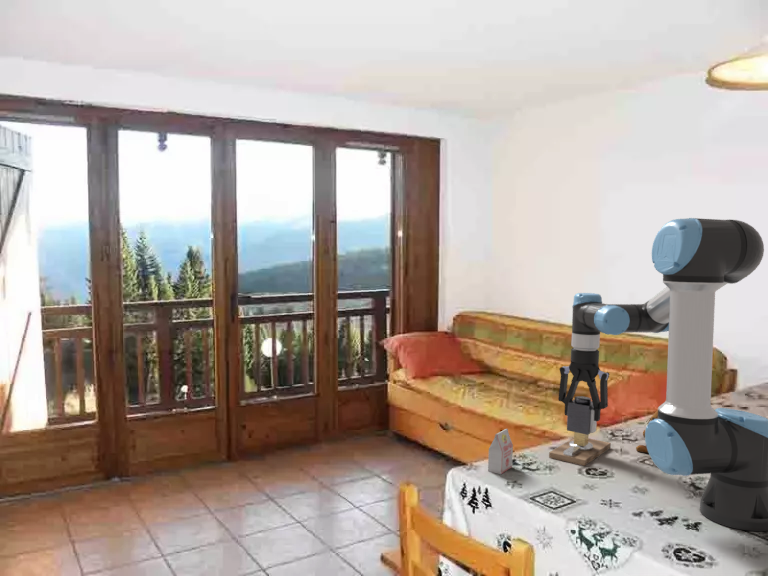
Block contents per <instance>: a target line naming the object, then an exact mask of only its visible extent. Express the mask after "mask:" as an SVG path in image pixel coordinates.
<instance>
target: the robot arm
mask: <svg viewBox="0 0 768 576" xmlns="http://www.w3.org/2000/svg"><path fill="white" fill-rule="evenodd" d="M764 245H765V244H764V241H763V238H762V236H761V235H760V233H759V231H758V230H756V228H755V227H754V226H752V225H750V224H749V223H747V222H745V221H742V220H738V219H718V218H717V219H714V218H713V219H712V218H698V217H697V218H696V217H689V218H676V219H672V220H670V221H668V222H666V223H664V224H663V226H662V227H661V228H660V230H659V231H658V232H657V233H656V235H655V238H654V240H653V242H652V247H651V262H652V263H653V264H654V265H653V267H654V269H655V270H656V271H657V272H658V273H659V274H662V283H663V284H664V285H665V286H666V287H665V288H663V289H662V290H661V291H660V292H658V293H656V294H655V295H654V296H653V297H652V298H650V299H649V300H647V301H646V302H644V303H638V304H635V303H629V304H628V303H627V304H622V303H620V304H619V303H617V304H616V303H614V304H613V303H612V304H611V303H610V304H608V303H603V301H602V296H601V294H599V293H592V292H578V293H575V294H574V296H573V305H572V322H571V323H572V324H571V325H572V326H571V329H572V330H571V347H572V348H571V349H570V363H569V365H568V366H566V365H564V366H561V367H560V368H559V373H560V382H559V390H558V391H559V392H558V398H557V399H558V402H561V403H563V404H564V415H565V416H566V418H567V417H568V402H570V401H573V400H574V398H575V395H576V391H577V390H578V389H577V388H578V385H579V384H580V382H584V383H586V385H587V387H588V392H589V394H590V398H591V401H592V403H593V406H594V408H593V409H592V410H591V423H590V434H594V433H595V432H596V431H597V425H598V424H597V422H599V421H601V410H605V409H607V408H608V407H609V405H608V404H609V402H608V401H609V399H608V398H609V397H608V396H609V395H608V393H609V392H608V381H609V378H610V373H609V372H608V371H607V372H604V371H602V370H601V369H600V367H599V361H600V351H599V348H600V344H601V343H600V341H601V339H600V338H601V333H603V334H605V335H608V336H609V335H612V336H618V335H621V334H623V333H627V334H628V333H629V334H630V333H631V334H632V333H653V334H658V333H659V334H660V333H664V332H665V333H667V332H668V341H667V342H668V343H667V366H666V367H667V369H666V390H665V391H666V394H665V395H666V397H665V401H664V402H663V403H661V404H660V405H659V406H658V407H657V410H658V419H654V420H652V421H651V420H650V421H649V423H648V422H647V423H648V424H647V425H646V428H645V429H646V430H645V429H644V430H645V439H644V440H645V446H647V450H648V453H647V454H649V457H650V458H651V461H652V463H653V464H654V465H655V466H656V467H657V468H658V469H659V470H660V471H661V472H663V473H664V474H667V475H670V476H671V475H672V476H684V477H687V476H691V475H693V476H694V475H704V474H705V475H708V474H709V475H710V476H709V479H708V481H707V484H706V486H705V488H704V490H703V492H702V494H701V497H700V500H699V512H700V513H701V514H702V515H703V517H705V518H707V519H708V520H710V521H712V522H714V523H716V524H720V525H722V526H725V527H729V528H732V529H737V530H742V531H743V530H744V531H751V532H766V531H768V418H767V417H765V416H762V415H760V414H757V413H756V414H755V413H752V412H749V411H743V410H739V409H735V408H734V409H733V408H729V407H728V408H727V407H726V408H725V407H717V408H716V409H715V408H713V407H712V405H711V402H712V400H711V399H712V398H711V397H712V377H713V376H712V375H713V374H712V373H713V351H714V333H715V331H714V330H715V329H714V326H715V306H716V302H715V301H716V292H718V290H720V289H721V288H723V287H725V286H726V285H728V284H729V285H732V284H736V283H738V282H741V281H742V280H743V279H746V278H747V277H748V276H749V275H751V274H752V273H753V272H754V271H755V270H756V269H758V267H759V266H760V264H761V262H762V260H763V258H764V252H765V247H764ZM570 373H571V375H572V379H571V383H570V385H569V388H568V381H569V374H570ZM597 376H598V379H600V380H599V392H598V388H597V382H596V377H597ZM599 393H600V394H599ZM599 395H600V396H599Z"/></svg>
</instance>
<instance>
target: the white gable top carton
mask: <svg viewBox="0 0 768 576" xmlns="http://www.w3.org/2000/svg"><path fill="white" fill-rule="evenodd" d="M513 447H514V445H513V442H512V439H511V437H510V433H509V429H508V428H505V429H503V430H502V431H499V432H497V433H495V434H494V438H493V441H492V442H491V444H490V446H489V447H488V456H487V457H488V459H487V460H488V461H487V463H488V465H487V471H488V472H489V473H495V474H499V475H502V474H504V473H505V472H507V471H508V470H510V469H511V468H512V467H513V453H514V451H513Z"/></svg>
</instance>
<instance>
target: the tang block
mask: <svg viewBox="0 0 768 576" xmlns="http://www.w3.org/2000/svg"><path fill="white" fill-rule="evenodd" d="M589 435H590V434H588V435H586V434H581V433H577V432H573V437H572V438H571V439H570V440H568V441H566V442H565V443H563V444H561V445H560V446H558V447H556V448H553V450H552V449H551V451H550V452H549V453H548V458H549V459H554V460H558V461H562V462H566V463H570V464H575V465H579V466H584V467H585V466H587V465H588V464H589V463H591V462H593V461H594V460H595V459H596V458H599V457H600V455H603V454H604V453H606V452H607V451H609V450H610V449H611V444H612V443H611V442H608V441H604V440H598V439H594V438H590V437H589Z"/></svg>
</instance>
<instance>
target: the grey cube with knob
mask: <svg viewBox="0 0 768 576" xmlns="http://www.w3.org/2000/svg"><path fill="white" fill-rule="evenodd" d="M593 408H594V406H593V403H592V399H591V397H588V396H583V395H580V396H579V395H578V396H574V399H573V400H572V401H570V402H568V417H567V416H566V418H567V419H566V431H567V432H572V433H574V432H577V433H581V434H586V435H588V434H589V435H590V434H591V433H590V423H591V410H592V409H593Z"/></svg>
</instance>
